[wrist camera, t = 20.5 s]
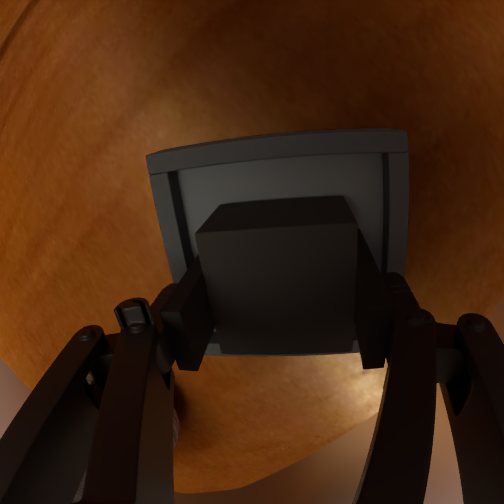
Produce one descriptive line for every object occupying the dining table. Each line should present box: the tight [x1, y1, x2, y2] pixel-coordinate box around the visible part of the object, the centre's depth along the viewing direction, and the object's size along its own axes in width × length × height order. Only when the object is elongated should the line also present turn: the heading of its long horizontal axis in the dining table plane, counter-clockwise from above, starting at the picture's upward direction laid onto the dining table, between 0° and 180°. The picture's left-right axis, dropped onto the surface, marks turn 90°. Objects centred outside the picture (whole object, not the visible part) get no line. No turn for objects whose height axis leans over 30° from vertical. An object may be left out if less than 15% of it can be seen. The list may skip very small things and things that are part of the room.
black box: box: [195, 196, 358, 355], centre depth 14 cm, size 6×6×4 cm
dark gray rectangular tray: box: [146, 128, 409, 356], centre depth 16 cm, size 12×12×2 cm
